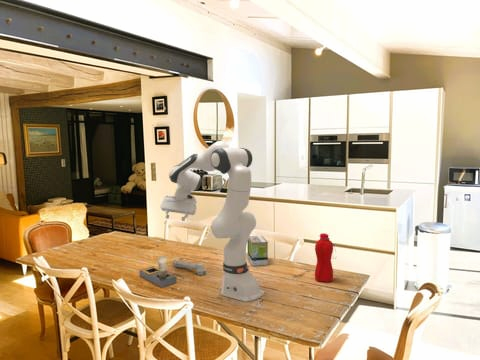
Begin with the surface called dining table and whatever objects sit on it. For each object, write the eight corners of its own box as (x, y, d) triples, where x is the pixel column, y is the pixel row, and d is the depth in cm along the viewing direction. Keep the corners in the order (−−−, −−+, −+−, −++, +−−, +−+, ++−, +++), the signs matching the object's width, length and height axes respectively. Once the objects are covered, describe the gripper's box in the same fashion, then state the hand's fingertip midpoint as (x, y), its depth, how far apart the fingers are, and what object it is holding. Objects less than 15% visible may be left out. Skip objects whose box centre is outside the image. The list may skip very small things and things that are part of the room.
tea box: (268, 265, 218) (268, 241, 217) (251, 266, 217) (251, 242, 215) (262, 257, 233) (262, 234, 231) (247, 258, 231) (246, 235, 230)
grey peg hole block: (176, 282, 195) (176, 276, 194) (162, 287, 188) (161, 280, 188) (153, 271, 211) (153, 265, 210) (139, 276, 205) (139, 269, 204)
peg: (168, 282, 196) (167, 256, 194) (161, 284, 193) (160, 258, 191) (164, 280, 198) (163, 255, 197) (157, 282, 196) (156, 257, 194)
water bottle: (335, 284, 189) (335, 237, 186) (313, 281, 193) (314, 235, 190) (336, 277, 197) (337, 232, 194) (316, 275, 201) (316, 231, 198)
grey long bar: (178, 258, 222) (207, 261, 206) (179, 269, 222) (208, 273, 206) (171, 261, 218) (200, 264, 202) (173, 272, 218) (201, 276, 202)
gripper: (163, 192, 209) (155, 214, 202) (197, 197, 206) (190, 219, 199) (166, 197, 214) (159, 218, 208) (199, 202, 211) (193, 224, 204)
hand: (174, 219), depth 203 cm, fingers open, 8 cm apart
